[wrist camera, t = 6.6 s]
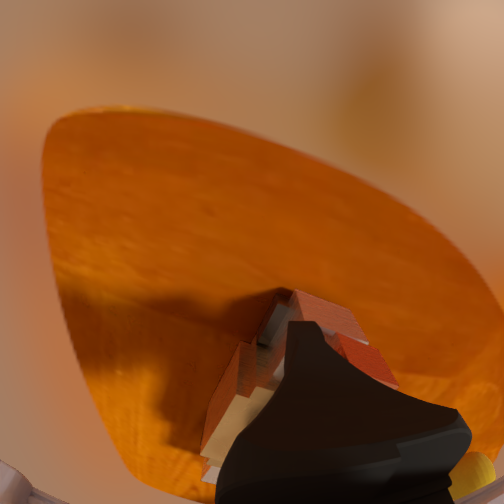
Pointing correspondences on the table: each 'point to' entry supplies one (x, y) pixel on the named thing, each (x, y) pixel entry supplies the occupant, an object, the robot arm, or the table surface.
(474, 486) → the lemon
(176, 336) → the table surface
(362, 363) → the lever
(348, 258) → the table surface
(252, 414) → the valve
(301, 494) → the robot arm
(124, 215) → the table surface
